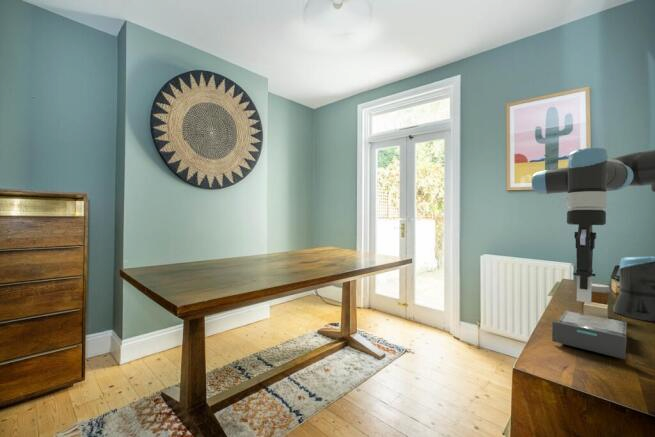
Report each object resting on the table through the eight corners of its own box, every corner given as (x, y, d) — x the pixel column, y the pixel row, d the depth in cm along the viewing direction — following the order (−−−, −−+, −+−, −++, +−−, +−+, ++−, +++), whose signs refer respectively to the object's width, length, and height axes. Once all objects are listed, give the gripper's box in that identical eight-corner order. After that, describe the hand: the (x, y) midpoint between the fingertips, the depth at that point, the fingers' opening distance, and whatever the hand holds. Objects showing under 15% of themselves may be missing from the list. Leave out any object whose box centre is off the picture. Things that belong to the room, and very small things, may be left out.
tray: (560, 329, 94) (560, 311, 94) (625, 343, 83) (626, 324, 83) (552, 341, 84) (552, 321, 84) (625, 359, 73) (625, 337, 73)
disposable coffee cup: (576, 310, 119) (577, 280, 119) (609, 315, 113) (609, 284, 113) (577, 315, 112) (578, 284, 112) (612, 321, 106) (612, 288, 106)
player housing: (565, 323, 103) (565, 310, 103) (626, 335, 92) (626, 321, 92) (558, 333, 92) (558, 320, 92) (626, 349, 82) (626, 333, 82)
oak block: (585, 320, 106) (585, 301, 106) (607, 325, 102) (608, 305, 102) (583, 324, 102) (583, 304, 102) (607, 329, 97) (607, 308, 98)
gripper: (570, 210, 82) (568, 294, 82) (563, 208, 73) (561, 302, 73) (607, 210, 77) (605, 300, 76) (604, 207, 68) (602, 309, 67)
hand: (583, 301), depth 74 cm, fingers closed
